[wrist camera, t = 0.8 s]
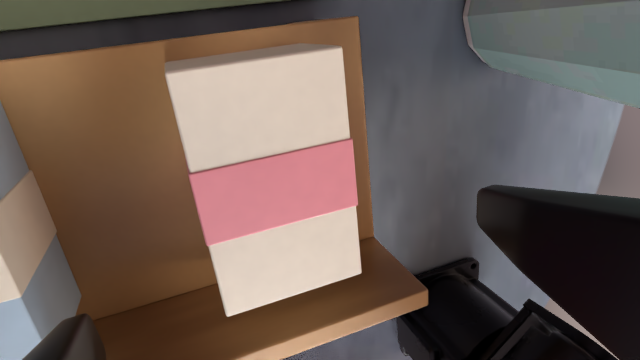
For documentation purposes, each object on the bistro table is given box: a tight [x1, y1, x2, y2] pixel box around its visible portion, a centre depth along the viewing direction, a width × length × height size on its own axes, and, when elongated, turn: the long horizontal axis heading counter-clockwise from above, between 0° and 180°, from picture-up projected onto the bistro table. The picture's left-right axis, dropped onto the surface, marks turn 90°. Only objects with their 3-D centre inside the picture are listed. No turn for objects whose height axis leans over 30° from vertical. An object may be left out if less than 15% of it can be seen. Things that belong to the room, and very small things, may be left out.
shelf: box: [0, 16, 428, 360], centre depth 15 cm, size 20×11×10 cm, turn 99°
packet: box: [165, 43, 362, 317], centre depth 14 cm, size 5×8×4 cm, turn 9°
